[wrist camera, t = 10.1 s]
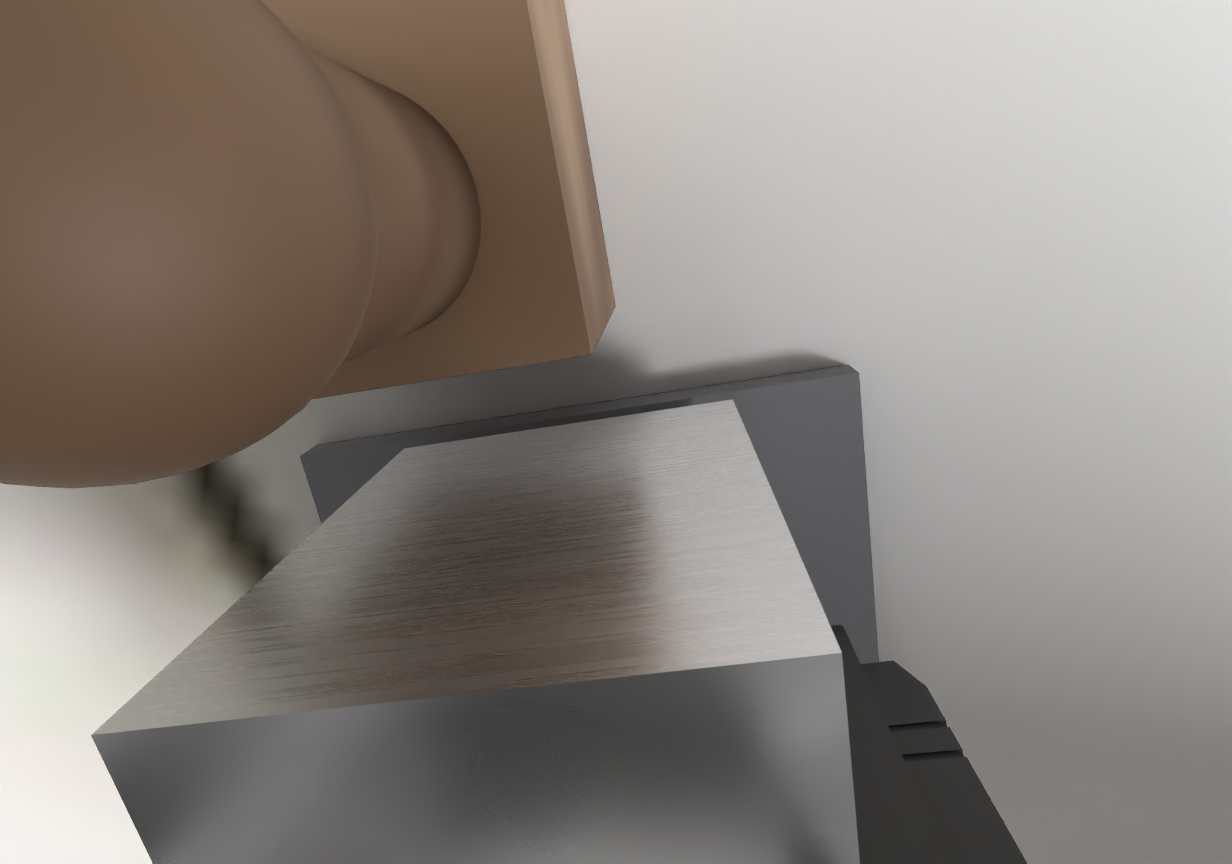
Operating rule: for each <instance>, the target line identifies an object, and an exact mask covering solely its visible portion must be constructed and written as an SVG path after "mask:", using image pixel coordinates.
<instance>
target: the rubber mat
mask: <svg viewBox="0 0 1232 864" xmlns="http://www.w3.org/2000/svg"><path fill="white" fill-rule="evenodd" d="M732 399H733V401H734V403H735V406H736V408H737V410H738V413H739V415H740V417H741V420H742V422H743V424H744V427H745V429H746V431H747V434H748V436H749V438H750V441H751V443H752V445H753V447H754V450H755V452H756V454H757V457H758V459H759V461H760V464H761V466H762V468H763V471H764V473H765V475H766V478H767V480H768V482H769V485H770V487H771V489H772V492H773V494H774V496H775V499H776V501H777V503H778V506H779V508H780V510H781V512H782V515H783V517H784V519H785V522H786V524H787V526H788V529H789V531H790V533H791V536H792V538H793V540H794V543H795V545H796V547H797V550H798V552H799V554H800V557H801V559H802V561H803V564H804V566H805V568H806V571H807V573H808V575H809V577H810V580H811V582H812V584H813V587H814V589H815V591H816V594H817V596H818V598H819V601H820V603H821V605H822V608H823V610H824V612H825V615H826V617H827V619H828V622H829V624H830V626H832V625H842V626H843V627H844V629H845V631H846V633H847V635H848V638H849V640H850V642H851V644H852V646H853V649H854V651H855V653H856V655H857V658H858V660H859V662H860V664H866V663H876V662H879V661H878V646H877V631H876V617H875V602H874V587H873V573H872V558H871V543H870V529H869V514H868V499H867V485H866V470H865V455H864V441H863V426H862V411H861V397H860V382H859V373H858V372H857V371H856V370H854V369H853V368H852V367H850V366H849V365H844V366H837V367H830V368H824V369H817V370H811V371H804V372H797V373H791V374H784V375H777V376H771V377H764V378H757V379H751V380H744V381H738V382H731V383H724V384H718V385H711V386H704V387H698V388H691V389H685V390H678V391H671V392H665V393H658V394H651V395H645V396H638V397H631V398H625V399H618V400H612V401H605V402H598V403H592V404H585V405H578V406H572V407H565V408H558V409H552V410H545V411H539V412H532V413H525V414H519V415H512V416H505V417H499V418H492V419H485V420H479V421H472V422H466V423H459V424H452V425H446V426H439V427H432V428H426V429H419V430H412V431H406V432H399V433H393V434H386V435H379V436H373V437H366V438H359V439H353V440H346V441H340V442H333V443H326V444H320V445H317V446H315V447H313V448H312V449H310V450H309V451H307V452H306V453H304V454H303V455H301V456H300V458H301V461H302V464H303V467H304V470H305V473H306V476H307V479H308V482H309V486H310V489H311V492H312V495H313V498H314V501H315V504H316V507H317V510H318V513H319V516H320V520H321V523H323V522H324V521H325V520H327V519H328V518H329V517H330V516H331V515H332V514H333V513H334V512H335V511H336V510H337V509H339V508H340V507H341V506H342V505H343V504H344V503H345V502H346V501H347V500H348V499H349V498H351V497H352V496H353V495H354V494H355V493H356V492H357V491H358V490H359V489H360V488H361V487H363V486H364V485H365V484H366V483H367V482H368V481H369V480H370V479H371V478H372V477H373V476H375V475H376V474H377V473H378V472H379V471H380V470H381V469H382V468H383V467H384V466H385V465H387V464H388V463H389V462H390V461H391V460H392V459H393V458H394V457H395V456H396V455H397V454H399V453H400V452H401V451H402V450H403V449H405V448H411V447H418V446H425V445H431V444H438V443H445V442H452V441H458V440H465V439H472V438H478V437H485V436H492V435H498V434H505V433H512V432H518V431H525V430H532V429H538V428H545V427H552V426H558V425H565V424H572V423H578V422H585V421H592V420H598V419H605V418H612V417H618V416H625V415H632V414H639V413H645V412H652V411H659V410H665V409H672V408H679V407H685V406H692V405H699V404H705V403H712V402H719V401H725V400H732Z"/></svg>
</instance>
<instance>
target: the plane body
mask: <svg viewBox="0 0 1232 864" xmlns="http://www.w3.org/2000/svg"><path fill="white" fill-rule="evenodd" d="M614 309H615V301H614V295H613V289H612V283H611V277H610V271H609V265H608V259H607V253H606V248H605V242H604V236H603V230H602V224H601V218H600V212H599V206H598V200H597V194H596V188H595V183H594V177H593V171H592V165H591V159H590V153H589V147H588V141H587V135H586V129H585V123H584V118H583V112H582V106H581V100H580V94H579V88H578V82H577V76H576V70H575V64H574V59H573V53H572V47H571V41H570V35H569V29H568V23H567V17H566V11H565V5H564V0H0V483H4V484H14V485H26V486H38V487H57V488H83V487H97V486H111V485H123V484H135V483H139V482H144V481H148V480H153V479H157V478H162V477H166V476H171V475H175V474H179V473H184V472H188V471H192V470H194V469H197V468H199V467H202V466H205V465H207V464H210V463H213V462H215V461H218V460H220V459H223V458H225V457H227V456H230V455H232V454H234V453H237V452H239V451H241V450H243V449H245V448H246V447H248V446H250V445H252V444H253V443H255V442H257V441H259V440H261V439H262V438H264V437H266V436H267V435H269V434H270V433H271V432H273V431H274V430H276V429H277V428H279V427H280V426H281V425H283V424H284V423H285V422H287V421H288V420H289V419H290V418H292V417H293V416H294V415H295V414H297V413H298V412H299V411H301V410H302V409H303V408H304V407H305V406H306V405H307V404H308V403H309V402H310V401H311V400H312V399H316V398H322V397H328V396H335V395H341V394H347V393H354V392H360V391H366V390H373V389H379V388H385V387H391V386H398V385H404V384H410V383H417V382H423V381H429V380H436V379H442V378H448V377H455V376H461V375H467V374H473V373H480V372H486V371H492V370H499V369H505V368H511V367H518V366H524V365H530V364H536V363H543V362H549V361H555V360H562V359H568V358H574V357H581V356H587V355H592V353H593V351H594V349H595V347H596V345H597V343H598V341H599V339H600V337H601V335H602V333H603V331H604V329H605V327H606V325H607V323H608V321H609V319H610V317H611V315H612V313H613V311H614Z"/></svg>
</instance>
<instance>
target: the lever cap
mask: <svg viewBox="0 0 1232 864" xmlns="http://www.w3.org/2000/svg"><path fill="white" fill-rule="evenodd" d="M91 736H92V738H93V740H94V742H95V744H96V746H97V748H98V750H99V752H100V755H101V757H102V759H103V761H104V763H105V765H106V767H107V769H108V771H109V773H110V775H111V777H112V779H113V781H114V784H115V786H116V788H117V790H118V792H119V794H120V796H121V798H122V800H123V802H124V804H125V806H126V808H127V811H128V813H129V815H130V817H131V819H132V821H133V823H134V825H135V827H136V829H137V831H138V833H139V835H140V838H141V840H142V842H143V844H144V846H145V848H146V850H147V852H148V854H149V856H150V858H151V860H152V862H153V864H860V858H859V846H858V834H857V823H856V811H855V799H854V788H853V776H852V764H851V753H850V741H849V729H848V718H847V706H846V694H845V683H844V671H843V659H842V652H841V649H840V647H839V645H838V643H837V640H836V638H835V636H834V633H833V631H832V629H831V626H830V624H829V622H828V619H827V617H826V615H825V612H824V610H823V608H822V605H821V603H820V601H819V598H818V596H817V594H816V591H815V589H814V587H813V584H812V582H811V580H810V577H809V575H808V573H807V571H806V568H805V566H804V564H803V561H802V559H801V557H800V554H799V552H798V550H797V547H796V545H795V543H794V540H793V538H792V536H791V533H790V531H789V529H788V526H787V524H786V522H785V519H784V517H783V515H782V512H781V510H780V508H779V506H778V503H777V501H776V499H775V496H774V494H773V492H772V489H771V487H770V485H769V482H768V480H767V478H766V475H765V473H764V471H763V468H762V466H761V464H760V461H759V459H758V457H757V454H756V452H755V450H754V447H753V445H752V443H751V441H750V438H749V436H748V434H747V431H746V429H745V427H744V424H743V422H742V420H741V417H740V415H739V413H738V410H737V408H736V406H735V403H734V401H733V399H732V400H725V401H719V402H712V403H705V404H699V405H692V406H685V407H679V408H672V409H665V410H659V411H652V412H645V413H639V414H632V415H625V416H618V417H612V418H605V419H598V420H592V421H585V422H578V423H572V424H565V425H558V426H552V427H545V428H538V429H532V430H525V431H518V432H512V433H505V434H498V435H492V436H485V437H478V438H472V439H465V440H458V441H452V442H445V443H438V444H431V445H425V446H418V447H411V448H405V449H403V450H402V451H401V452H400V453H399V454H397V455H396V456H395V457H394V458H393V459H392V460H391V461H390V462H389V463H388V464H387V465H385V466H384V467H383V468H382V469H381V470H380V471H379V472H378V473H377V474H376V475H375V476H373V477H372V478H371V479H370V480H369V481H368V482H367V483H366V484H365V485H364V486H363V487H361V488H360V489H359V490H358V491H357V492H356V493H355V494H354V495H353V496H352V497H351V498H349V499H348V500H347V501H346V502H345V503H344V504H343V505H342V506H341V507H340V508H339V509H337V510H336V511H335V512H334V513H333V514H332V515H331V516H330V517H329V518H328V519H327V520H325V521H324V522H323V523H322V524H321V525H320V526H319V527H318V528H317V529H316V530H315V531H313V532H312V533H311V534H310V535H309V536H308V537H307V538H306V539H305V540H304V541H303V542H301V543H300V544H299V545H298V546H297V547H296V548H295V549H294V550H293V551H292V552H291V553H289V554H288V555H287V556H286V557H285V558H284V559H283V560H282V561H281V562H280V563H278V564H277V565H276V566H275V567H274V568H273V569H272V570H271V571H270V572H269V573H268V574H266V575H265V576H264V577H263V578H262V579H261V580H260V581H259V582H258V583H257V584H256V585H254V586H253V587H252V588H251V589H250V590H249V591H248V592H247V593H246V594H245V595H244V596H242V597H241V598H240V599H239V600H238V601H237V602H236V603H235V604H234V605H233V606H232V607H230V608H229V609H228V610H227V611H226V612H225V613H224V614H223V615H222V616H221V617H220V618H218V619H217V620H216V621H215V622H214V623H213V624H212V625H211V626H210V627H209V628H208V629H206V630H205V631H204V632H203V633H202V634H201V635H200V636H199V637H198V638H197V639H196V640H194V641H193V642H192V643H191V644H190V645H189V646H188V647H187V648H186V649H185V650H184V651H182V652H181V653H180V654H179V655H178V656H177V657H176V658H175V659H174V660H173V661H171V662H170V663H169V664H168V665H167V666H166V667H165V668H164V669H163V670H162V671H161V672H159V673H158V674H157V675H156V676H155V677H154V678H153V679H152V680H151V681H150V682H149V683H147V684H146V685H145V686H144V687H143V688H142V689H141V690H140V691H139V692H138V693H137V694H135V695H134V696H133V697H132V698H131V699H130V700H129V701H128V702H127V703H126V704H125V705H123V706H122V707H121V708H120V709H119V710H118V711H117V712H116V713H115V714H114V715H113V716H111V717H110V718H109V719H108V720H107V721H106V722H105V723H104V724H103V725H102V726H101V727H99V728H98V729H97V730H96V731H95V732H94V733H93V734H92V735H91Z"/></svg>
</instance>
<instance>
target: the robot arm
mask: <svg viewBox="0 0 1232 864" xmlns="http://www.w3.org/2000/svg"><path fill="white" fill-rule="evenodd" d="M831 629H832V631H833V633H834V636H835V638H836V640H837V643H838V645H839V647H840V649H841V652H842V659H843V671H844V683H845V694H846V706H847V718H848V729H849V741H850V753H851V764H852V776H853V788H854V799H855V811H856V823H857V834H858V846H859V858H860V864H1027V862H1026V861H1025V859H1024V857H1023V855H1022V854H1021V852H1020V850H1019V848H1018V847H1017V845H1016V843H1015V841H1014V840H1013V838H1012V836H1011V834H1010V833H1009V831H1008V829H1007V827H1006V826H1005V824H1004V822H1003V820H1002V819H1001V817H1000V815H999V813H998V811H997V810H996V808H995V806H994V804H993V803H992V801H991V799H990V797H989V796H988V794H987V792H986V790H985V789H984V787H983V785H982V783H981V782H980V780H979V778H978V776H977V775H976V773H975V771H974V769H973V768H972V766H971V764H970V762H969V761H968V759H967V757H964V755H963V752H962V748H961V747H960V745H959V743H958V741H957V740H956V738H955V736H954V734H953V733H952V731H951V729H950V727H947V725H946V720H945V718H944V717H943V715H942V713H941V711H940V710H939V708H938V706H937V704H936V703H935V701H934V699H933V697H932V696H931V694H930V692H929V690H928V689H927V687H926V686H925V685H924V684H922V683H921V682H920V681H919V680H917V679H916V678H915V677H913V676H912V675H911V674H910V673H908V672H907V671H906V670H904V669H903V668H902V667H901V666H899V665H898V664H897V663H896V662H894V661H885V662H876V663H866V664H860V662H859V660H858V658H857V655H856V653H855V651H854V649H853V646H852V644H851V642H850V640H849V638H848V635H847V633H846V631H845V629H844V627H843V626H842V625H832V626H831Z"/></svg>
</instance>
